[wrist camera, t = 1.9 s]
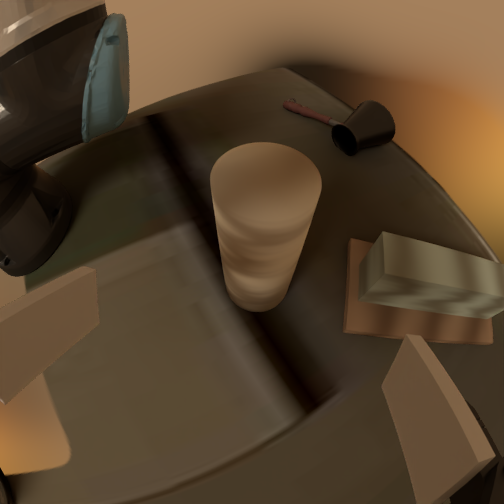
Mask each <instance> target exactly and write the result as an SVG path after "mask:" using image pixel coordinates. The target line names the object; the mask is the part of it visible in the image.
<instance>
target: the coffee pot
mask: <svg viewBox="0 0 504 504" xmlns="http://www.w3.org/2000/svg"><path fill="white" fill-rule="evenodd" d="M290 99H294V98H290ZM290 99H289V100H290ZM289 100H288V101H285V102H284V103H283V107H284V108H286V109H287V110H289V111H293V112H294V113H297V114H299V113H300V114H301V115H302V116H305V117H310V118H315V119H318V120H320V121H322V122H323V123H325V124H327V125H332V126H334V127H333V128H332V138H333V141H334V143H335V145H336V147H338V148H339V149H340V150H342V151H343V152H344V153H345V154H347V155H349V156H352V155H354V154H355V153H356V152H357V150H358V149H359V148H364V147H369V146H375V145H380V144H385V143H388V142H389V141H391V140H392V139H393V137H394V134H395V123H394V120H393V117H392V116H391V114H390V112H389V111H388V110H387V109H386V108H385V107H384V106H383V105H381V104H380V103H378V102H376V101H373V100H369V101H364V102H362V103H361V104H360V105H359V106H358V107H357V108H356V109H355V111H354V112H353V113H352V114H351V115H350V116H349V117H348V119H347V120H346V121H345V122H344V123H340V122H338V121H335V120H333V119H332V118H331V117H328V116H325V115H321V114H318V113H317V112H315V111H313V110H311V109H309V108H308V107H302V105H300V104H297V103H296V101H295V99H294V101H295V103H294V102H291V101H289Z"/></svg>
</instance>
